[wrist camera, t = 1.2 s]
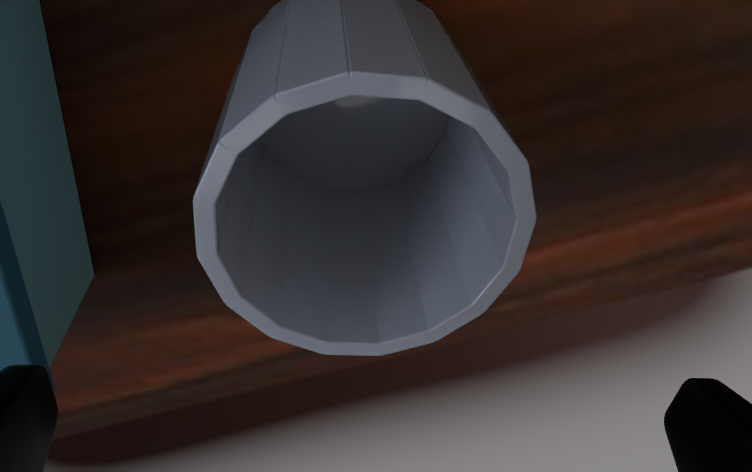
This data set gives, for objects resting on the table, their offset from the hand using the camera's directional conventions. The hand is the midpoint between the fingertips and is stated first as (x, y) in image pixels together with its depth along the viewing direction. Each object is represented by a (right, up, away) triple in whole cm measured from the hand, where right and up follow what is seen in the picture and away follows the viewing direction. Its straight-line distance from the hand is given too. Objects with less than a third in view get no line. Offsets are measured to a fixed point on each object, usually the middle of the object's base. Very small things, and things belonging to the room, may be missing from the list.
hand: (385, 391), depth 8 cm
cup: (-1, +6, +9) cm, 11 cm away
